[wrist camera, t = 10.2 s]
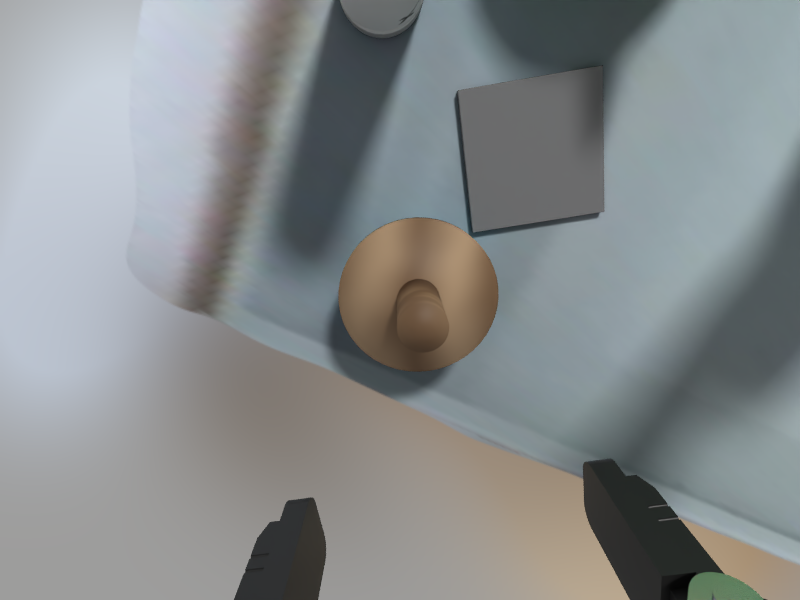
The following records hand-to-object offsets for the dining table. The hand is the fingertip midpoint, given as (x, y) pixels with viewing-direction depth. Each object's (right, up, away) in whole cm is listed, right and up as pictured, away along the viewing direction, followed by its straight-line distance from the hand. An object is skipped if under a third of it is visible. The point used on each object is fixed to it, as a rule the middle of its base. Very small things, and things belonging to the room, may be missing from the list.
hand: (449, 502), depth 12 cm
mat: (+9, +18, +21) cm, 30 cm away
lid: (0, +6, +20) cm, 21 cm away
